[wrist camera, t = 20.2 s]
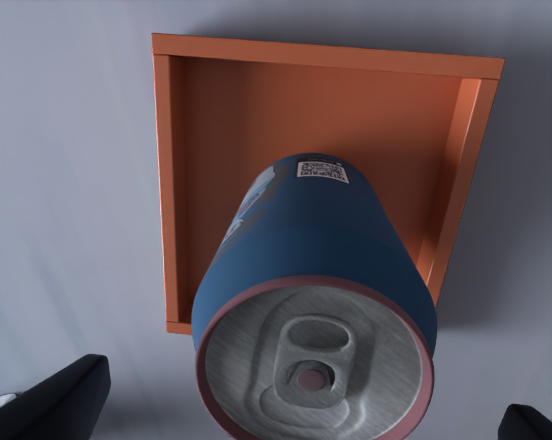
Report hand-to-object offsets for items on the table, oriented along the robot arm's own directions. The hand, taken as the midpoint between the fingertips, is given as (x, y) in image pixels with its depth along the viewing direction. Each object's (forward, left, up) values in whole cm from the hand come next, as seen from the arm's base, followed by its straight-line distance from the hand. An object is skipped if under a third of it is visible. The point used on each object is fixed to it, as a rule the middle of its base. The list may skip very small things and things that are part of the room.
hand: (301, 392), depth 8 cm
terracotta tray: (0, 0, -13) cm, 13 cm away
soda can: (0, 0, -13) cm, 13 cm away
